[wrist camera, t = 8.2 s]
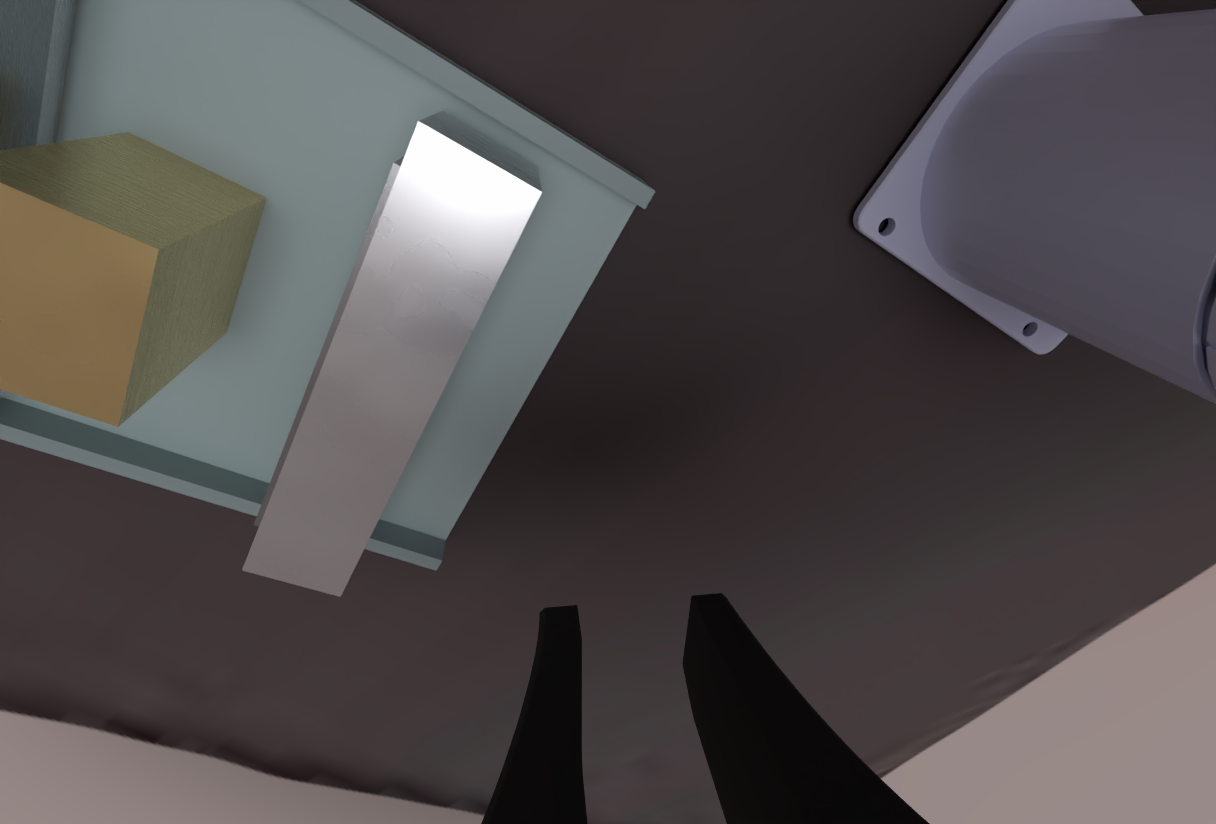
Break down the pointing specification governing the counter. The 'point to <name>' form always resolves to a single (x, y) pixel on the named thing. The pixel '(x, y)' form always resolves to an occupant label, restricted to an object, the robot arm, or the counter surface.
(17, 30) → the fixed jaw
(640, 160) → the counter surface
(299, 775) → the counter surface
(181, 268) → the block
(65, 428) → the vise base
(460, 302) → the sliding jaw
